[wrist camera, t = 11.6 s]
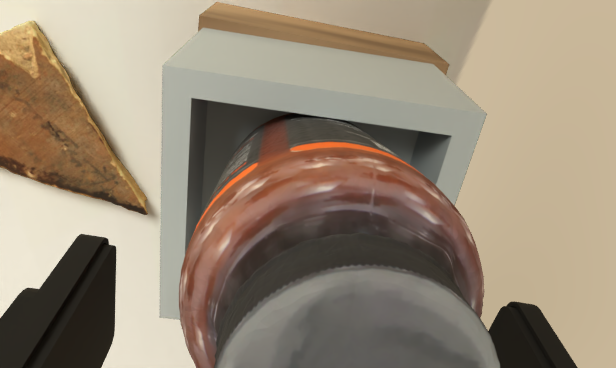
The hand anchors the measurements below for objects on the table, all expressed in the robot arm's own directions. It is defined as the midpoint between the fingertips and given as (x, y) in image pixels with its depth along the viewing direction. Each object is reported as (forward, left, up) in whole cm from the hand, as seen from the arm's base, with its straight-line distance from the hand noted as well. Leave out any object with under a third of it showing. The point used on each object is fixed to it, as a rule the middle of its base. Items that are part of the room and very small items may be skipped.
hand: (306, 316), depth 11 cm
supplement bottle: (0, 0, -7) cm, 7 cm away
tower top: (0, 0, -10) cm, 10 cm away
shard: (+2, -12, -15) cm, 20 cm away
